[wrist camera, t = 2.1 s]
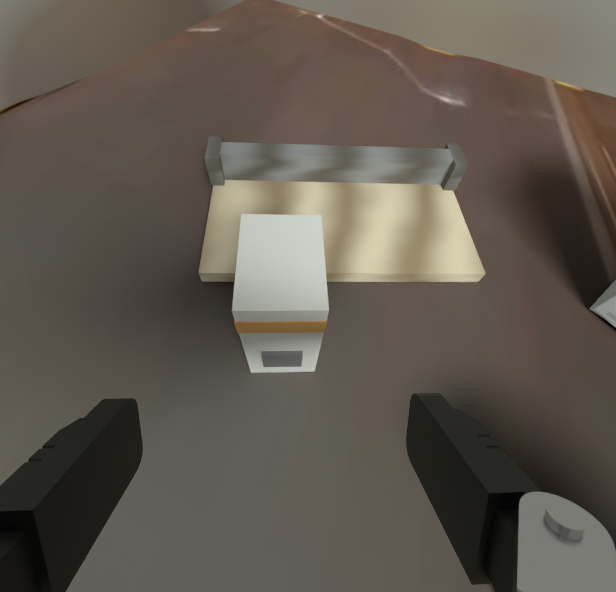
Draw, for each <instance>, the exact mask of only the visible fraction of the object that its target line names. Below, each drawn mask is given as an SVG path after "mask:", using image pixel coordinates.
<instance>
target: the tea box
mask: <svg viewBox="0 0 616 592" xmlns="http://www.w3.org/2000/svg"><path fill="white" fill-rule="evenodd" d="M589 309H590V310H591V311H593V312H595V313H596V314H598V315H599V316H601V317H602V318H604V319H605V320H607V321H608V322H609V323H610V324H612V325H613V326H614V327H615V328H616V279H615V280H614V282H613V283H612V284H611V285H610V286H609V287H608V289H607V290H606V291H605V292H604V293H603V294H602V295H601V296H600V297H599V298H598V299H597V301H596V302H595V303H594V304H593V305H592V306H591V307H590V308H589Z"/></svg>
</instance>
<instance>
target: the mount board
mask: <svg viewBox="0 0 616 592" xmlns="http://www.w3.org/2000/svg"><path fill="white" fill-rule="evenodd" d="M205 163H206V167H207V171H208V175H209V179H210V183H211V185H213V190H212V196H211V202H210V208H209V214H208V220H207V226H206V231H205V237H204V243H203V249H202V255H201V261H200V266H199V272H198V273H199V276H200V278H201V280H202V282H235V273H236V263H237V253H238V242H239V232H240V222H241V214H273V215H321V216H322V229H323V241H324V254H325V267H326V279H327V282H478V281H479V280H480V279H481V278H482V277H483V276H484V275H485V271H484V269H483V266H482V264H481V261H480V258H479V256H478V253H477V251H476V248H475V246H474V243H473V241H472V238H471V235H470V233H469V230H468V228H467V225H466V223H465V220H464V218H463V215H462V212H461V210H460V207H459V205H458V202H457V200H456V197H455V195H454V192H453V191H455V190H456V188H457V186H458V184H459V182H460V181H461V179H462V177H463V175H464V174H465V172H466V170H467V168H468V167H469V165H468V163H467V161H466V158H465V156H464V154H463V152H462V150H461V147H460V145H459V144H446V147H445V149H435V148H402V147H369V146H336V145H303V144H270V143H236V142H223V137H217V136H209V139H208V144H207V149H206V154H205Z"/></svg>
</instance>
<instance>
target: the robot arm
mask: <svg viewBox="0 0 616 592" xmlns="http://www.w3.org/2000/svg"><path fill="white" fill-rule="evenodd" d="M406 445H407V452H408V456H409V459H410V462H411V464H412V466H413V468H414V470H415V472H416V474H417V476H418V478H419V480H420V482H421V484H422V486H423V488H424V490H425V492H426V494H427V496H428V498H429V500H430V502H431V504H432V506H433V508H434V510H435V512H436V514H437V516H438V518H439V520H440V522H441V524H442V526H443V528H444V530H445V532H446V534H447V536H448V538H449V540H450V542H451V544H452V546H453V548H454V550H455V552H456V554H457V556H458V558H459V560H460V562H461V564H462V566H463V568H464V570H465V572H466V574H467V576H468V578H469V580H470V582H471V584H472V585H474V584H491V583H492V584H493V586H494V588H495V590H496V592H616V532H611V531H607V530H606V529H605V528H604V526H603V525H602V524H601V523H600V522H599V521H598V520H597V519H596V518H594V517H593V516H592V515H591V514H590V513H588V512H587V511H586V510H584V509H583V508H581V507H580V506H578V505H576V504H575V503H573V502H571V501H569V500H567V499H565V498H562V497H560V496H557V495H554V494H550V493H546V492H542V491H541V490H540V489H539V488H538V487H537V486H536V485H535V484H534V483H533V482H532V480H531V479H530V478H529V477H528V476H527V475H526V474H525V473H524V472H523V471H522V470H521V469H520V467H519V466H518V465H517V464H516V463H515V462H514V461H513V460H512V459H511V458H510V457H509V456H508V454H507V453H506V452H505V451H504V450H503V449H500V447H499V445H498V444H497V443H496V441H495V440H494V439H493V438H492V437H489V434H488V433H487V432H486V431H485V430H484V428H483V427H482V426H481V425H480V424H479V423H478V422H477V421H476V420H474V419H473V418H471V417H470V416H468V415H466V414H465V413H463V412H462V411H460V410H454V409H453V408H452V406H451V405H450V404H449V403H448V402H447V401H446V400H445V398H444V397H443V396H442V395H441V394H439V393H421V394H413V395H412V397H411V400H410V408H409V418H408V427H407V437H406ZM142 450H143V445H142V437H141V429H140V421H139V413H138V406H137V402H136V401H135V399H132V398H128V399H104V400H102V401H101V402H100V403H99V404H98V405H96V406H95V407H94V408H93V409H92V410H91V411H90V412H89V413H88V414H87V415H86V416H85V417H84V418H80V419H78V420H76V421H75V422H73V423H71V424H69V425H68V426H66V427H64V428H63V429H61V430H59V431H58V432H57V433H56V434H55V435H54V436H53V437H52V438H51V439H50V440H49V441H47V442H46V443H45V444H44V445H43V448H42V449H39V450H38V451H37V452H36V453H35V454H34V455H33V456H31V457H30V458H29V461H28V463H24V464H23V465H22V466H21V467H20V468H19V469H18V470H17V471H16V472H14V473H13V474H12V475H11V476H10V477H9V478H8V479H7V480H6V481H5V482H4V483H3V484H2V485H1V486H0V592H65V591H66V590H67V588H68V586H69V585H70V583H71V581H72V580H73V578H74V576H75V575H76V573H77V571H78V569H79V568H80V566H81V564H82V563H83V561H84V559H85V558H86V556H87V554H88V553H89V551H90V549H91V547H92V546H93V544H94V542H95V541H96V539H97V537H98V536H99V534H100V532H101V531H102V529H103V527H104V526H105V524H106V522H107V520H108V519H109V517H110V515H111V514H112V512H113V510H114V509H115V507H116V505H117V504H118V502H119V500H120V498H121V497H122V495H123V493H124V492H125V490H126V488H127V487H128V485H129V483H130V482H131V480H132V478H133V476H134V475H135V473H136V471H137V469H138V467H139V465H140V462H141V458H142Z"/></svg>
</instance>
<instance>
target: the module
mask: <svg viewBox="0 0 616 592" xmlns="http://www.w3.org/2000/svg"><path fill="white" fill-rule="evenodd" d="M328 312H329V305H328V292H327V279H326V267H325V254H324V241H323V229H322V216H321V215H273V214H241V222H240V232H239V242H238V253H237V263H236V273H235V283H234V293H233V304H232V313H233V316H234V324H235V327H236V330H237V333H239V336H240V339H241V342H242V345H243V349H244V352H245V355H246V358H247V361H248V365H249V368H250V371H251V373H256V372H313V371H315V367H316V363H317V358H318V354H319V350H320V346H321V342H322V337H323V333H324V332H325V330H326V326H327V317H328Z"/></svg>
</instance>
